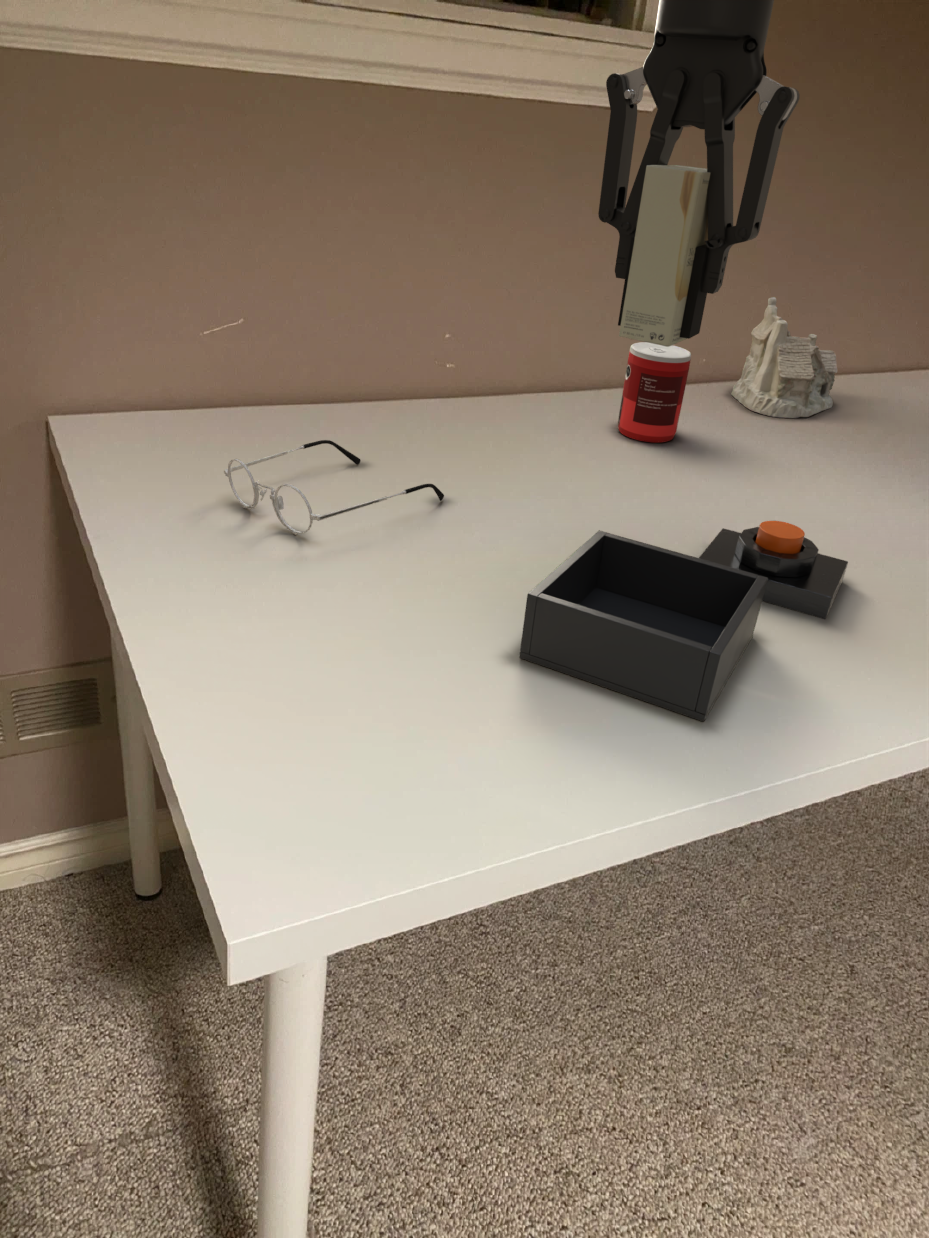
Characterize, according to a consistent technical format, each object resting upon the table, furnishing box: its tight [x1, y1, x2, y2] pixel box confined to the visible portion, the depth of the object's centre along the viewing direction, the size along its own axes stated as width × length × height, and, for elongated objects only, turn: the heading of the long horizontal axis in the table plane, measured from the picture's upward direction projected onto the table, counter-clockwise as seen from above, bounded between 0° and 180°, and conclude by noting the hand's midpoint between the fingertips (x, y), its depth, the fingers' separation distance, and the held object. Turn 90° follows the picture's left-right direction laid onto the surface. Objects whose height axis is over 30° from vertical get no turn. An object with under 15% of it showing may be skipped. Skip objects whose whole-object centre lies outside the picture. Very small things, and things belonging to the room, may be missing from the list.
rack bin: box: [519, 529, 768, 723], centre depth 74 cm, size 15×15×6 cm
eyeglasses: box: [223, 439, 445, 536], centre depth 95 cm, size 16×19×5 cm
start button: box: [755, 520, 806, 554], centre depth 86 cm, size 4×4×2 cm
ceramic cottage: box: [731, 296, 838, 419], centre depth 141 cm, size 16×16×15 cm
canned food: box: [617, 341, 692, 444], centre depth 122 cm, size 8×8×11 cm
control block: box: [698, 526, 849, 620], centre depth 87 cm, size 12×9×4 cm
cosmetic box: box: [618, 164, 710, 347], centre depth 72 cm, size 6×4×12 cm
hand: (658, 328), depth 74 cm, fingers closed on cosmetic box, 4 cm apart
